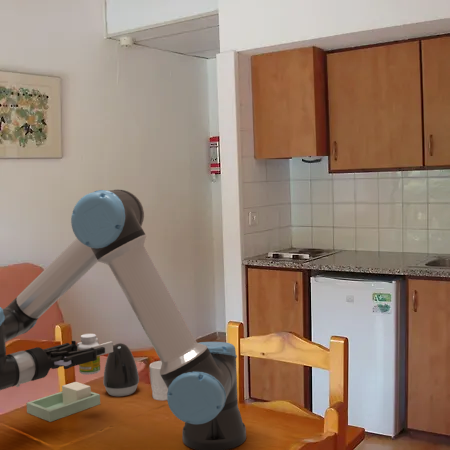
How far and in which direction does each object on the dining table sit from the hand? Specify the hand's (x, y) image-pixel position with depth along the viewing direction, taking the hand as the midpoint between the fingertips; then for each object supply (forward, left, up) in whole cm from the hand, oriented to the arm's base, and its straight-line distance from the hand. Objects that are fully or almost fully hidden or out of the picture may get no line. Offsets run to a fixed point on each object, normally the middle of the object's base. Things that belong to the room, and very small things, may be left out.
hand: (104, 344), depth 169 cm
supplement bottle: (0, +5, -6) cm, 8 cm away
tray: (+11, +6, -18) cm, 22 cm away
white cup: (-5, -17, -19) cm, 25 cm away
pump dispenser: (+8, -12, -19) cm, 23 cm away
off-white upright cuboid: (+11, +2, -18) cm, 21 cm away
